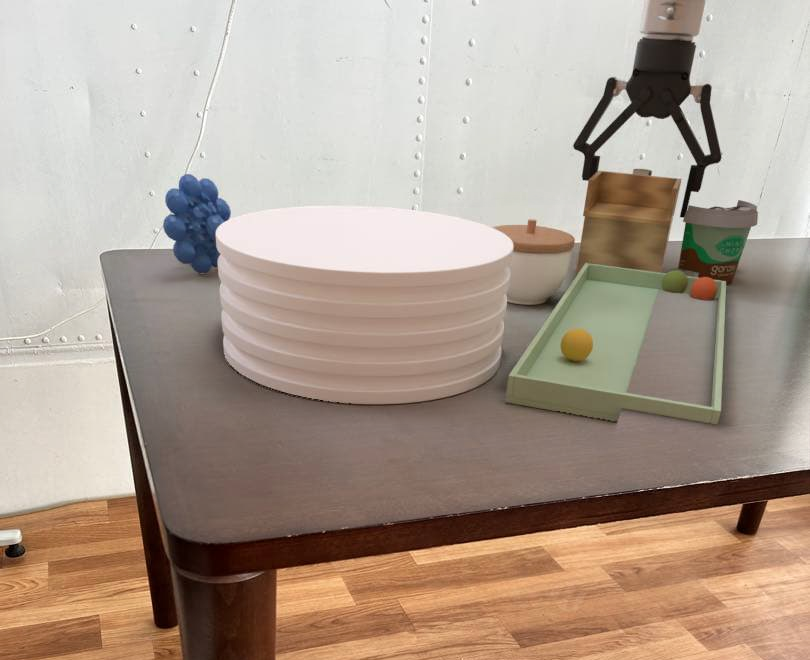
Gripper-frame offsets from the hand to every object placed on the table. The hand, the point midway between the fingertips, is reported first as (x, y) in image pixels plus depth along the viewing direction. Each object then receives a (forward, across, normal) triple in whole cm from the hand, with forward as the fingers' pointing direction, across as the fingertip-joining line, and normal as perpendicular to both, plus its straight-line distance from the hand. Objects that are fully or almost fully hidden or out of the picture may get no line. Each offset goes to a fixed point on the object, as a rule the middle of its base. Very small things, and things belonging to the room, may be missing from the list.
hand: (635, 210), depth 118 cm
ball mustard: (+5, 0, -48) cm, 49 cm away
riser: (+7, 0, -9) cm, 12 cm away
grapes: (+8, -49, -36) cm, 62 cm away
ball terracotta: (+5, +11, -19) cm, 23 cm away
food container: (+8, +13, -4) cm, 16 cm away
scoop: (-1, 0, -6) cm, 6 cm away
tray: (+7, +5, -38) cm, 39 cm away
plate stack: (+8, -21, -54) cm, 58 cm away
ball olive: (+5, +8, -18) cm, 20 cm away
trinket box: (+8, -10, -26) cm, 29 cm away
